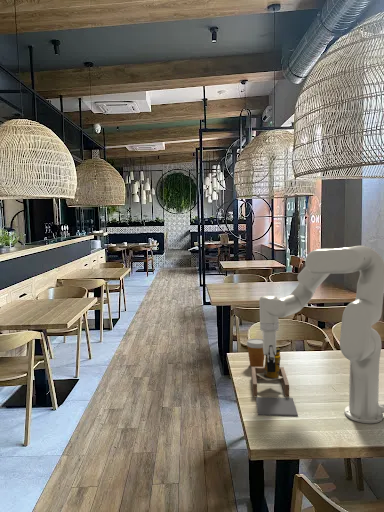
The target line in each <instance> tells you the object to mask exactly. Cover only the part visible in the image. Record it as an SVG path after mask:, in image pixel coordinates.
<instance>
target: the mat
mask: <svg viewBox="0 0 384 512" xmlns="http://www.w3.org/2000/svg"><path fill="white" fill-rule="evenodd" d="M255 401H256V408H257V409H256V410H257V411H256V412H257V415H258V416H267V417H268V416H271V417H272V416H273V417H274V416H276V417H280V416H281V417H299V414H298V411H297V408H296V403H295V400H294V399H293V397H273V396H271V397H270V396H255Z"/></svg>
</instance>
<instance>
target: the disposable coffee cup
mask: <svg viewBox="0 0 384 512" xmlns="http://www.w3.org/2000/svg"><path fill="white" fill-rule="evenodd" d="M246 346H247V351H248V352H247V353H248V361H249V366H250V368H251V367H264V365H265V355H264V353H263V338H249V339H247V341H246Z"/></svg>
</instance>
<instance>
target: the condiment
mask: <svg viewBox="0 0 384 512" xmlns="http://www.w3.org/2000/svg"><path fill="white" fill-rule="evenodd" d="M274 353H275V352H274ZM268 355H270V353H268ZM269 357H270V356H269ZM274 357H275V372H268V371H267V362H268V357H267V355H265V357H264V367H265V369H264V373H260V374H257V375H258V376H260V377H262V378H264V379H263V380H266V381H268V382H269V381H272V380H281V379H280V378H283V377H281V376H279V368H280V367H281V365H280V364H281V349H280V348H279V347H278V346H276V355H275V354H274Z"/></svg>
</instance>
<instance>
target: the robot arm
mask: <svg viewBox="0 0 384 512" xmlns="http://www.w3.org/2000/svg"><path fill="white" fill-rule="evenodd" d="M304 265H305V266H304V267H303V269H302V270H301V271H300V272H299V273H298V274H297V277H296V278H297V281H298V285H297V286H296V287H295V289H294V290H293V291H292V292H291V293H290V294H289V295H286V296H282V297H279V298H277V296H276V295H262V296H261V297H260V298H259V327H260V328H259V330H260V331H262V339H263V353H264V356H266V355H267V357H268V362H267V371H268V372H275V357H274V354H275V355H276V347H277V331H279V330H280V328H279V327H280V323H279V318H286V317H289V316H291V315H295V314H297V313H298V312H301V310H302V309H303V308H304V307H306V305H307V304H308V303H309V302H310V301H311V299H312V298H313V297H314V294H316V290H317V289H318V287H320V286H321V284H322V283H323V282H324V281H325V280H326V279H327V278H328V277H329V276H330V275H331V274H332V275H333V274H334V275H335V274H350V273H351V274H352V273H356V272H359V277H358V280H357V283H356V294H355V300H354V301H351V302H350V303H348V304H347V305H346V306H345V308H344V309H343V313H342V317H341V326H340V336H339V348H340V351H341V354H342V355H343V356H344V357H345V359H346V360H348V361H349V380H348V381H349V386H348V387H349V389H348V391H349V392H348V393H349V396H348V399H349V400H348V405H347V406H346V407H344V415H345V416H346V417H347V418H348V419H350V420H352V421H355V422H357V423H361V424H377V423H380V422H382V421H383V420H384V404H380V402H379V397H380V396H379V392H380V391H379V387H380V386H379V385H380V384H379V383H380V376H379V375H380V359H381V352H382V351H381V350H382V338H381V335H380V334H379V332H378V331H377V330H376V329H374V328H373V327H372V326H373V325H375V324H377V323H379V321H380V320H381V317H382V315H383V314H382V312H383V303H384V259H383V257H382V255H380V254H379V253H378V251H376V250H375V249H373V248H372V247H370V246H366V245H355V246H354V245H353V246H349V247H339V248H319V249H314V250H312V251H310V252H308V254H307V255H306V257H305V261H304ZM274 352H275V353H274ZM268 353H270V355H268ZM269 356H270V357H269Z"/></svg>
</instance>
